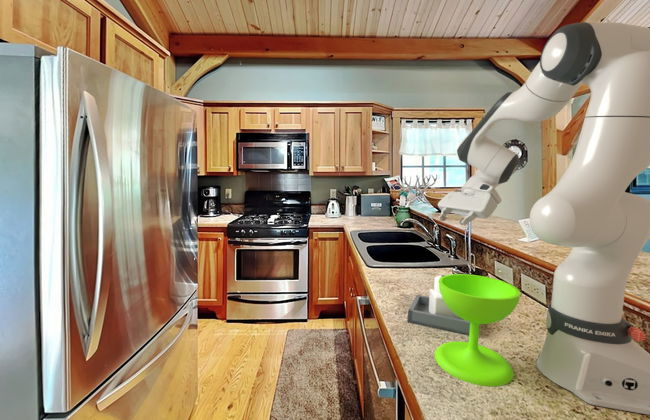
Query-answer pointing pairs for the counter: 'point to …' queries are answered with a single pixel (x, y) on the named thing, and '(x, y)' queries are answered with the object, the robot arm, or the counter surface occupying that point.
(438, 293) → the medicine bottle
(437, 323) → the parts tray
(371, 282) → the counter surface
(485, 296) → the wineglass
